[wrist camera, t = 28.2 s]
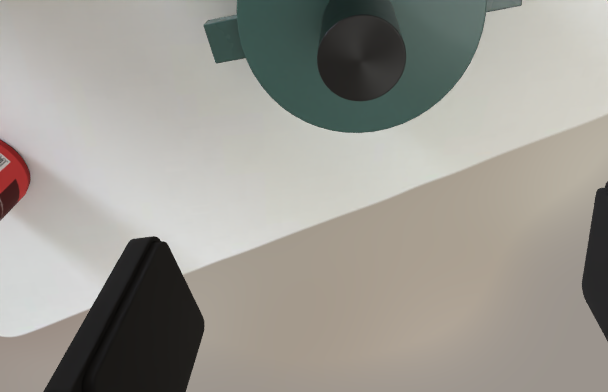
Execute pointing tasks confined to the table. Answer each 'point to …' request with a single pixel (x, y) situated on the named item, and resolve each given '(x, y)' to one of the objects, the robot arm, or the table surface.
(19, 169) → the canned food
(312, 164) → the table surface
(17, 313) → the table surface
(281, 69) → the lid
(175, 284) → the robot arm
